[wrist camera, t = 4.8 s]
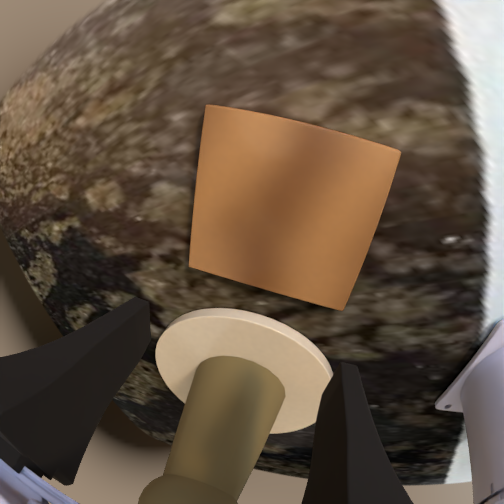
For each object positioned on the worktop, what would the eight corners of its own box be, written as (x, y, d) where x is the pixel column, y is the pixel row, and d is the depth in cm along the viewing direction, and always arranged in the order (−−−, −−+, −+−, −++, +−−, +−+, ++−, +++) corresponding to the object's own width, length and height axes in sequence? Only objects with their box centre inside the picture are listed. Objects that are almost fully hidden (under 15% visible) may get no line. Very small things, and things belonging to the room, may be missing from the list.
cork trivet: (399, 149, 11) (401, 152, 11) (343, 305, 16) (342, 312, 15) (209, 103, 13) (205, 104, 12) (192, 262, 17) (188, 267, 16)
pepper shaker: (232, 417, 22) (180, 546, 12) (178, 366, 20) (100, 505, 11) (303, 404, 19) (262, 564, 10) (249, 344, 17) (172, 532, 8)
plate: (364, 342, 16) (364, 352, 16) (303, 438, 23) (301, 446, 22) (158, 281, 18) (151, 288, 17) (163, 394, 24) (159, 401, 23)
